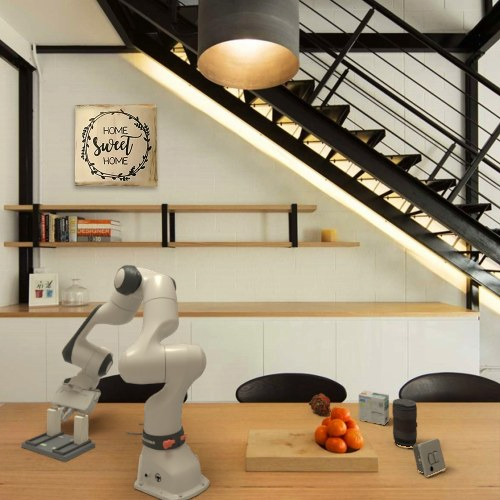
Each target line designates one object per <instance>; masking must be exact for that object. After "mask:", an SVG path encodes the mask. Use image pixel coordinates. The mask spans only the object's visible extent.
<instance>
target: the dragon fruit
mask: <svg viewBox="0 0 500 500" xmlns="http://www.w3.org/2000/svg"><path fill="white" fill-rule="evenodd" d="M308 405H309V406H310V409H311V410H312V411H313V412H314V413H317V414H318V415H322V416H323V415H324V414H326V413H327V414H328V413H329V412H330V408H331V400H330V398H329V396H326V395H325V394H323V393H322V392H321V393H319V394H315V395H314V396H313V397H312V399H311V400H310V401H309V402H308Z"/></svg>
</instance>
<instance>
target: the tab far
mask: <svg viewBox="0 0 500 500" xmlns="http://www.w3.org/2000/svg"><path fill="white" fill-rule="evenodd" d="M61 423H62V421H61V408H60V407H56V406H54V405H50V406H49V408H47V409H46V432H47V435H48V436H54V435H56V434H58V433H61V431H62V429H61V427H62V426H61V425H62V424H61Z"/></svg>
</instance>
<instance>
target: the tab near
mask: <svg viewBox="0 0 500 500" xmlns="http://www.w3.org/2000/svg"><path fill="white" fill-rule="evenodd" d="M73 436H74V443H75V444H78V445H80V444H82V443H84V442H86V441H88V439H89V415H88V414H84V413H80V412H77V413H76V415H75V416H73Z"/></svg>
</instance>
